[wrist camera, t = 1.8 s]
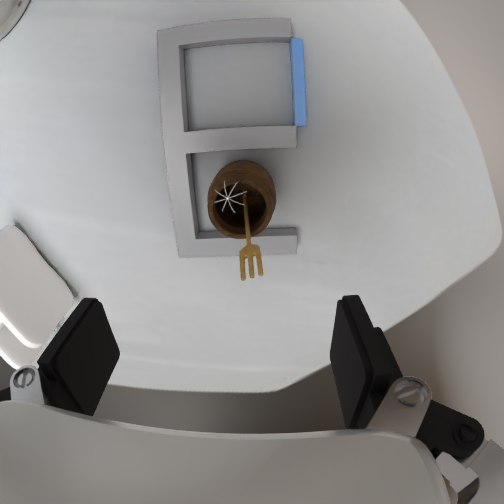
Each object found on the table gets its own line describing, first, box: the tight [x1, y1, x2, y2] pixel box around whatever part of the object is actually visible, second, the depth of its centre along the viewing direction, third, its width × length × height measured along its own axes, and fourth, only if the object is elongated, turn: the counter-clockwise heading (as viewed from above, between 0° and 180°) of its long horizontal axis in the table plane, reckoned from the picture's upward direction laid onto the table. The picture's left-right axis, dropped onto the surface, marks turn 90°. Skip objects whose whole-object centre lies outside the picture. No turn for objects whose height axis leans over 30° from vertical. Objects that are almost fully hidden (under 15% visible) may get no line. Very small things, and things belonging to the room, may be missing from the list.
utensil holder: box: [208, 160, 276, 281], centre depth 24 cm, size 6×6×12 cm
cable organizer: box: [0, 225, 74, 369], centre depth 30 cm, size 15×11×12 cm
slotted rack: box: [157, 18, 306, 258], centre depth 26 cm, size 23×13×2 cm, turn 3°
